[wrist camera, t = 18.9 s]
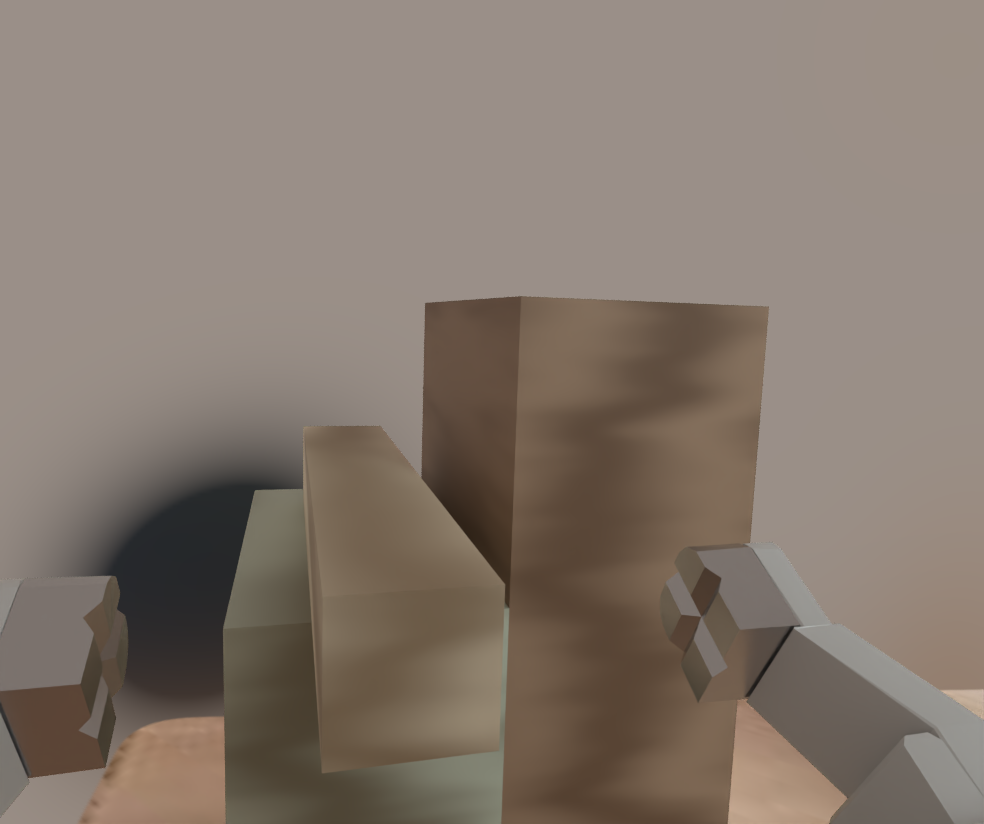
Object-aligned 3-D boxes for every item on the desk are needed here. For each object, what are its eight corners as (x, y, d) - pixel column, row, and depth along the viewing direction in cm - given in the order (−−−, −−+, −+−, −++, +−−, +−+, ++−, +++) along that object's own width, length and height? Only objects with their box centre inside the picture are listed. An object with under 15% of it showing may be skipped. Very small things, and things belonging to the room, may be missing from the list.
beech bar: (379, 498, 30) (380, 425, 30) (499, 751, 13) (505, 584, 12) (303, 501, 29) (303, 426, 29) (321, 773, 12) (322, 596, 12)
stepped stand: (553, 836, 37) (578, 308, 33) (702, 1141, 23) (768, 306, 20) (258, 883, 33) (253, 296, 30) (232, 1274, 20) (218, 283, 16)
